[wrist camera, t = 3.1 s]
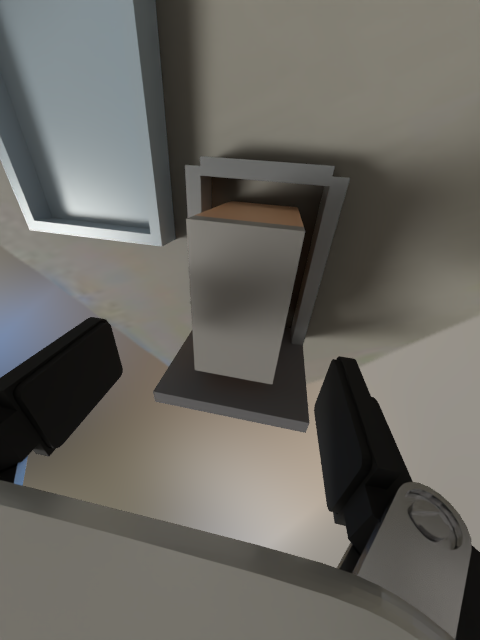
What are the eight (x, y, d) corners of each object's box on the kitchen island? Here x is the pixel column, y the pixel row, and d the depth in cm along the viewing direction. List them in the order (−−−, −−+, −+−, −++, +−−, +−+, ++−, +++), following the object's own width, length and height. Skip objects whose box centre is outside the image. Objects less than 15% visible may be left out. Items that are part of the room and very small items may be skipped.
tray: (147, -96, 11) (113, -161, 9) (175, 239, 19) (161, 246, 17) (-53, -83, 12) (-124, -137, 10) (55, 224, 21) (29, 230, 19)
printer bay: (343, 168, 15) (416, 156, 6) (299, 337, 22) (305, 432, 14) (197, 157, 16) (98, 135, 8) (202, 322, 24) (155, 401, 15)
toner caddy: (297, 207, 16) (305, 231, 9) (278, 312, 21) (272, 384, 14) (230, 200, 17) (186, 218, 10) (226, 304, 22) (194, 370, 14)
